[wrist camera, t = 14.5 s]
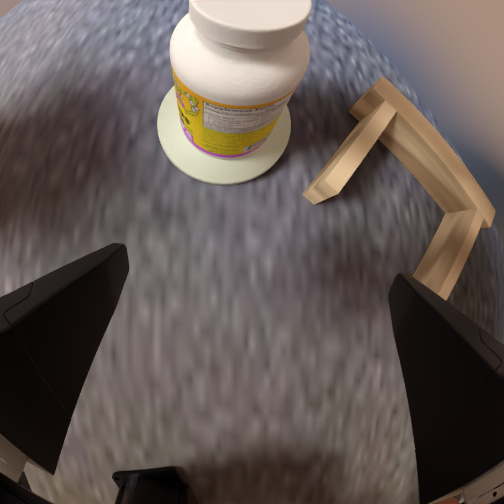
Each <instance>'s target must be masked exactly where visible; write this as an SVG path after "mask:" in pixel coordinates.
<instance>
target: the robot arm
mask: <svg viewBox="0 0 504 504" xmlns="http://www.w3.org/2000/svg"><path fill="white" fill-rule="evenodd" d="M128 272H129V261H128V254H127V248H126V246H125V245H124V244H120V243H113V244H110V245H108V246H106V247H104V248H101V249H99V250H97V251H95V252H93V253H90V254H88V255H86V256H84V257H82V258H80V259H78V260H75V261H73V262H71V263H69V264H67V265H65V266H63V267H61V268H59V269H57V270H55V271H53V272H51V273H49V274H47V275H45V276H43V277H41V278H39V279H37V280H35V281H34V282H31V283H29V284H27V285H25V286H23V287H21V288H19V289H17V290H15V291H13V292H11V293H9V294H6V295H4V296H2V297H0V504H54V503H52V502H50V501H48V500H46V499H44V498H42V497H40V496H39V495H37V494H35V493H33V492H32V490H31V488H30V485H29V483H28V481H27V478H26V475H25V473H24V472H23V469H24V467H25V464H26V461H27V462H29V463H31V464H32V465H34V466H36V467H38V468H40V469H42V470H44V471H46V472H47V473H49V474H51V475H54V473H55V470H56V467H57V463H58V460H59V456H60V453H61V450H62V446H63V443H64V440H65V437H66V434H67V430H68V427H69V424H70V421H71V417H72V415H73V412H74V409H75V406H76V404H77V401H78V398H79V395H80V393H81V390H82V387H83V385H84V382H85V379H86V377H87V374H88V372H89V369H90V367H91V364H92V362H93V359H94V357H95V355H96V352H97V350H98V347H99V345H100V343H101V340H102V338H103V336H104V334H105V331H106V329H107V327H108V325H109V322H110V320H111V318H112V316H113V314H114V311H115V309H116V306H117V304H118V301H119V298H120V295H121V292H122V289H123V286H124V283H125V281H126V278H127V275H128ZM388 300H389V306H390V313H391V319H392V326H393V333H394V338H395V342H396V347H397V351H398V355H399V360H400V364H401V369H402V373H403V378H404V383H405V388H406V393H407V399H408V404H409V410H410V416H411V423H412V429H413V436H414V444H415V448H416V449H415V453H416V462H417V472H418V484H419V501H420V504H433V503H436V502H439V501H442V500H444V499H447V498H450V497H453V496H455V495H458V494H461V493H463V497H464V502H463V503H461V504H504V345H503V344H502V343H500V342H499V341H498V340H496V339H495V338H494V337H492V336H491V335H490V334H489V333H487V332H486V331H485V330H483V329H482V328H481V327H478V325H477V324H476V323H475V322H473V321H472V320H471V319H469V318H468V317H467V316H466V315H464V314H463V313H462V312H460V311H459V310H458V309H456V308H455V307H454V306H452V305H451V304H450V303H448V302H447V301H446V300H444V299H443V298H442V297H440V296H439V295H438V294H436V293H435V292H433V291H432V290H431V289H429V288H428V287H427V286H425V285H424V284H422V283H421V282H420V281H418V280H417V279H415V278H414V277H412V276H411V275H410V274H406V273H398V274H397V275H396V277H395V279H394V281H393V284H392V286H391V289H390V291H389V295H388ZM170 472H173V473H170ZM117 477H119V478H117ZM112 478H113V480H114V481H115V483H116V484H117V486H118V487H119V492H118V495H117V498H116V501H115V504H197V499H196V497H195V496H194V494H193V493H192V491H191V489H190V488H189V486H188V485H187V484H184V482H183V481H182V479H181V477H180V475H179V474H178V472H177V470H176V469H174V468H172V467H169V468H161V469H153V470H143V471H131V472H115V473H113V475H112Z"/></svg>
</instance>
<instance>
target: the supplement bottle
mask: <svg viewBox="0 0 504 504" xmlns="http://www.w3.org/2000/svg"><path fill="white" fill-rule="evenodd" d="M311 9H312V2H311V0H189V13H188V14H186V15H185V16H184V17H183V18H182V20H181V21H180V22H179V23H178V25H177V26H176V28H175V30H174V32H173V34H172V38H171V41H170V59H171V66H172V72H173V79H174V86H175V93H176V99H177V105H178V111H179V117H180V122H181V126H182V130H183V132H184V135H185V137H186V138H187V140H188V141H189V142H190V144H191V145H192V146H193V147H194V148H196V149H197V150H198V151H200V152H201V153H203V154H205V155H207V156H210V157H213V158H217V159H236V158H241V157H244V156H247V155H249V154H251V153H253V152H254V151H256V150H257V149H258V148H259V147H261V146H262V145H263V143H264V142H265V141H266V140H267V138H268V137H269V135H270V133H271V132H272V130H273V128H274V126H275V124H276V123H277V121H278V119H279V117H280V115H281V114H282V112H283V110H284V108H285V107H286V105H287V103H288V101H289V99H290V98H291V96H292V94H293V93H294V91H295V89H296V88H297V86H298V84H299V83H300V81H301V79H302V78H303V76H304V74H305V72H306V70H307V67H308V64H309V59H310V46H309V42H308V38H307V36H306V34H305V32H304V27H305V25H306V22H307V20H308V18H309V15H310V13H311Z"/></svg>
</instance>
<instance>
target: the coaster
mask: <svg viewBox="0 0 504 504" xmlns="http://www.w3.org/2000/svg"><path fill="white" fill-rule="evenodd" d="M157 128H158V135H159V139H160V142H161V145H162V147H163V150H164V152H165V154H166V155H167V157H168V159H169V160H170V161H171V162H172V164H173V165H174V166H175V167H176V168H177V169H179V170H180V171H181V172H182V173H184V174H185V175H187V176H188V177H190V178H192V179H194V180H197V181H200V182H203V183H206V184H211V185H220V186H227V185H236V184H241V183H245V182H248V181H251V180H253V179H255V178H257V177H259V176H260V175H262V174H264V173H265V172H266V171H267V170H269V169H270V168H271V167H272V166H273V165H274V164H275V163H276V161H277V160H278V159H279V157H280V156H281V155H282V153H283V152H284V150H285V148H286V146H287V143H288V141H289V137H290V132H291V119H290V113H289V110H288V107H287V105H286V107H285V108H284V110H283V112H282V114H281V115H280V117H279V119H278V121H277V123H276V124H275V126H274V128H273V130H272V132H271V133H270V135H269V137H268V138H267V140H266V141H265V142H264V143H263V145H262V146H261V147H259V148H258V149H257V150H256V151H254V152H253V153H251V154H249V155H247V156H244V157H241V158H236V159H217V158H213V157H210V156H207V155H205V154H203V153H201V152H200V151H198V150H197V149H196V148H194V147H193V146H192V145H191V144H190V142H189V141H188V140H187V138H186V137H185V135H184V132H183V130H182V126H181V122H180V117H179V111H178V105H177V99H176V93H175V86H173V87H172V88H171V89H170V91H169V92H168V93H167V95H166V96H165V98H164V100H163V102H162V104H161V107H160V109H159V113H158V120H157Z"/></svg>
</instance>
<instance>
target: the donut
mask: <svg viewBox="0 0 504 504" xmlns="http://www.w3.org/2000/svg"><path fill="white" fill-rule="evenodd" d="M433 504H459V503H458V501H457V499H455V498H452V497H450V498H447V499H444V500H442V501H439V502H436V503H433Z"/></svg>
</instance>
